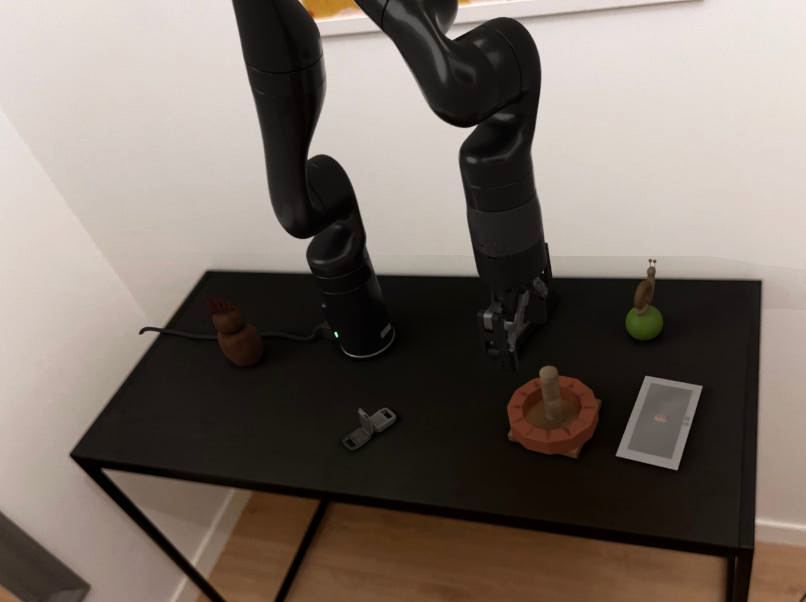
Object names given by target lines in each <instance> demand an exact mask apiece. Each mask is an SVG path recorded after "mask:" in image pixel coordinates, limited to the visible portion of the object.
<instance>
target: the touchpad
mask: <svg viewBox="0 0 806 602" xmlns="http://www.w3.org/2000/svg"><path fill="white" fill-rule="evenodd" d="M703 387H704V386H703V385H698V384H693V383H688V382H681V381H677V380H671V379H666V378H660V377H654V376H648V375H645V377H644V380H643V382H642V385H641V387H640V390H639V392H638V395H637V398H636V401H635V403H634V405H633V409H632V411H631V414H630V416H629V419H628V421H627V424H626V428H625V430H624V433H623V435H622V437H621V441H620V443H619V446H618V448H617V450H616V454H615V457H618V458H623V459H628V460H632V461H636V462H641V463H645V464H649V465H653V466H656V467H661V468H664V469H665V468H666V469H670V470H674V471H678V470H679V466H680V462H681V460H682V457H683V453H684V449H685V446H686V443H687V439H688V436H689V433H690V430H691V427H692V423H693V419H694V417H695V414H696V411H697V410H696V409H697V406H698V403H699V400H700V397H701V393H702V390H703Z"/></svg>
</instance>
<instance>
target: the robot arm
mask: <svg viewBox="0 0 806 602" xmlns="http://www.w3.org/2000/svg"><path fill="white" fill-rule="evenodd" d="M230 1H231V5H232V10H233V14H234V18H235V23H236V27H237V32H238V37H239V43H240V48H241V54H242V58H243V63H244V67H245V72H246V77H247V81H248V84H249V88H250V91H251V96H252V99H253V103H254V107H255V112H256V116H257V122H258V125H259V130H260V136H261V142H262V149H263V157H264V158H263V159H264V165H265V175H266V182H267V183H266V184H267V191H268V197H269V201H270V205H271V208H272V210H273V213H274V216H275V217H276V220H277V221H278V223H279V225H280V227H282V229H283V230H284V231H285V232H286V233H287V234H288V235H290V236H291V237H293V238H294V239H298V240H308V239H311V240H310V242H309V243H308V245H307V248H306V250H305V258H306V262H307V265H308V267H309V269H310V272H311V275H312V277H313V280H314V281H315V284H316V286H317V288H318V291H319V295H320V296H321V299H322V301H323V302H322V303H321V311H322V312H323V316H324V317H325V321H324V322H323V323H320V324H318V325H316V326H315V327H314V328H313V331H312V334H311V335H309V336H299V335H295V334H291V333H286V332H283V331H282V332H281V331H263V332H259V334H260V336H261V338H266V337H267V338H268V337H269V338H270V337H278V338H279V337H280V338H284V339H285V338H286V339H289V340H292V341H299V342H312V341H313V340H314V341H315V340H316V339H317V338H318V334H319V331H320V330H321V331H322V334H323V336H324V339H327V340H332V341H335V344H336V346H337V349H339V350H342V353H343V354H344V355H345V356H346V357H347V358H348V359H351V360H354V361H368V360H373V359H375V358H377V357H380V356H381V355H384V354H386V353H387V352H388V351H389V350H390V349H391V348H392V347H393V345H394V344H395V342H396V338H397V334H396V330H395V328H394V326H393V323H392V321H391V317H390V314H389V310H388V308H387V305H386V302H385V297H384V295H383V292H382V289H381V286H380V283H379V280H378V278H377V275H376V271H375V268H374V265H373V262H372V260H371V256H370V254H369V250H368V247H367V232H366V228H365V224H364V220H363V217H362V213H361V209H360V205H359V201H358V198H357V194H356V190H355V187H354V185H353V183H352V181H351V178H350V176H349V175H348V173H347V171H346V170H345V168H344V167H343V165H342V164H340V162H339V161H338V160H337V159H335V158H334V157H332V156H331V155H328V154H324V153H319V154H315V155H313V156H311V157H309V152H310V148H311V144H312V141H313V138H314V135H315V132H316V129H317V127H318V123H319V120H320V118H321V114H322V111H323V108H324V103H325V100H326V94H327V88H328V80H327V69H326V61H325V54H324V46H323V39H322V34H321V32H320V29H319V26H318V24H317V22H316V20H315V19H314V18H313V16H312V14H311V13H310V12H309V11H308V10H307V9H306V7H305V6H304V5H303V3H302V2H301V1H300V0H230ZM352 2H353V3H355V5H356V6H357V7H358V8H359V9H360V10H361V11H362V13H364V15H365V16H366V17H367V18H368V19H369V20H370V21H371V22H372V23H373V24H374V25H375V26H376V27H377V28H378V29H379V30H380V31H381V32H382V33H383V34H384V35H385V36H386V37H387V38H388V40H390V41H391V42H392V43H393V45H394V46H395V48H396V49H397V51H398V53H399V54H400V56H401V58H402V61H404V64H405V65H406V67H407V69H408V70H409V72H410V74H411V75H412V78H413V79H414V81H415V83H416V86H417V88H418V89H419V91H420V93H421V95H422V97H423V99H424V101H425V103H426V105H427V106H428V108H429V109H430V111H431V112H432V113H433V114H434V115H435V116H437V118H438V119H439V120H441V121H442V122H443V123H446V124H448V125H449V126H452V127H455V128H459V129H470V128H473V127H474V129H473V130H472V131H471V132H470V134H468V136H467V137H466V138H465V139H464V141H463V142H462V143H461V144H460V147H459V149H458V152H457V153H458V154H457V159H458V169H459V173H460V178H461V184H462V189H463V194H464V199H465V207H466V208H465V209H466V220H467V228H468V232H469V233H468V234H469V237H470V242H471V247H472V253H473V257H474V262H475V268H476V273H477V274H478V276H479V278H480V279H481V280H482V281H483V282H484V283H485V284H486V285H487V286H488V287H489V288H490V305H489V307H488V308H487V309H481V308H480V309H479V310H478V311H477V314H476V320H477V326H478V333H479V338H480V339H479V340H480V344H481V350H482V354H483V356H484V355H485V356H487V357H488V356H490V357H494V358H496V359H497V364H498V368H499V370H500V371H503V372H507V373H511V374H516V373H517V372H518V371H519V368H520V363H519V358H518V352H517V351H516V346H515V342H516V336H517V332H518V331H520V330H521V329H522V325H523V318H524V314H525V312H527V313H528V319H529V321H530V322H532V323H537V324H542V325H545V324H546V322H547V321H548V316H547V311H546V303H545V298H546V296H547V290H548V288H547V285H551V284H552V282H553V279H554V277H553V269H552V263H551V262H552V261H551V255H550V248H549V242H546V240H545V230H544V222H543V214H542V213H543V212H542V205H541V202H540V197H539V194H538V191H537V184H536V177H535V167H534V159H533V143H534V138H535V133H536V127H537V121H538V113H539V108H540V107H539V105H540V100H541V99H540V97H541V91H542V80H543V78H542V76H543V75H542V74H543V73H542V72H543V71H542V62H541V56H540V52H539V50H538V46H537V44H536V41H535V39H534V37H533V36H532V34H531V32H530V31H529V29H527V27H526V26H525V25H524V24H523V23H521V22H520V21H518V20H516V19H515V18H512V17H508V16H499V17H495V18H492V19H489V20H487V21H485V22H483V23H481V24H480V25H478V26H475V27H474V28H471V29H470V30H468V31H466V32H465V33H463V34H461V35H459V36H457V37H455V38H453V39H451V38H449V37H448V36H447V34H448V33H449V31H450V30H451V29H452V27H453V25H454V23H455V21H456V19H457V15H458V12H459V7H460V6H459V5H460V4H459V3H460V2H459V0H352ZM504 316H508V317H513V318H514V320H513V322H512V321H506V318H504ZM506 331H509V335H508V340H506V335H505V333H506ZM146 332H155V333H161V334H171V335H175V336H176V335H177V336H180V337H184V338H189V339H196V340H211V341H212V340H213V341H218V338H217V336H218V334H214V335H213V334H199V333H190V332H185V331H182V330H176V329H171V328H161V327H157V326H156V327H155V326H144V327H142V328H141V329H140V330H139V331H138V335H140V336H141V335H143V334H144V333H146Z"/></svg>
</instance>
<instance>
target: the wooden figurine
mask: <svg viewBox="0 0 806 602" xmlns="http://www.w3.org/2000/svg"><path fill="white" fill-rule="evenodd" d="M201 296H202V298H203V299H204V301H205V303H206V305H207V307H208V309H209V311H210V313H211V315H212V317H211V318H212V323H213V325H214V327H215V328H216V330H218V332H217V335H218V336H217V338H218V340H217V342H218V345H219V347H220V350H221V351H222V353H223V355H224V356H225V357H226V358H227V359H229V360H230V361H231V362H232V363H234V364H235V365H237V366H239V367H251V366H254V365H256V364H258V363H259V362H260V360H261V358H262V357H263V354H264V344H263V339H262V337H261V336H260V334H259V333H260V332H259V330H258V329H257V328H256V327H255V326H254V325H253V324H251V323H249V322H246V321H245V317H244V314H243V312H242V311H241V310H240V309H239V308H238V307H237V306H235V305H233V304H232V303H231V301H227V302H226V301H225V299H224V298H221V299H220V300H219V299H218V298H217V296H216V295H215V294H212V299H213V301H212V300H211V299H210V298H209V297H208V296H207V295H206V294H205V293H202V295H201Z"/></svg>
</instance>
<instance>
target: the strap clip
mask: <svg viewBox="0 0 806 602" xmlns="http://www.w3.org/2000/svg"><path fill="white" fill-rule="evenodd" d="M386 413H387V414H389V415H390V416H391V417H390V418H388V417H387V416H386V415H385V414H386ZM357 414H358V418H359V422H360V425H361V426H359V427H358V428H355V430H353V431H351V432H350V433H348V434H347V435H346V436H345V437H343V439H341V441H342V443H343V444H344V446H345V447H347V448H348V449H349V450H350V451H355V450H357V449H359V448H361V447H362V446H363V445H364V444H366V443H367V442H368V441H370V440H371V436H372V435H373V434H374V432H375V433H381V432H382V431H383V430H385V429H387V428H388V427H390V426H391V425H393V424H394V422H395V421H396V420H397V416H396V414H395V413H394V412H393V411H392V410H390V409H389V408H388V407H384V408H382V409H378V411H376V412H375V413H373V414H372V415H371V416H369V415H368V414H367V413H366V412H365V411H364V410H363V409H362V408H361V407H359V408H357ZM348 440H351V441H352V443H354V444H355V445H354V446H350V445H349V443H347V441H348Z"/></svg>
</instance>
